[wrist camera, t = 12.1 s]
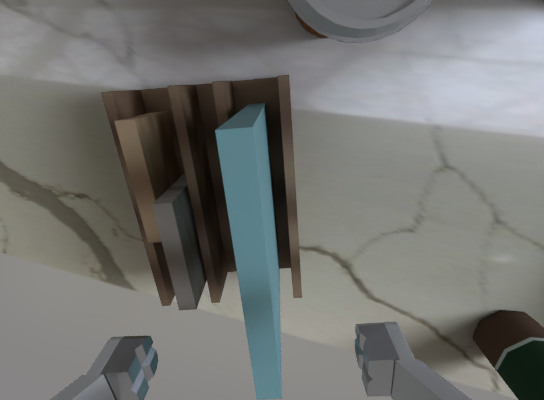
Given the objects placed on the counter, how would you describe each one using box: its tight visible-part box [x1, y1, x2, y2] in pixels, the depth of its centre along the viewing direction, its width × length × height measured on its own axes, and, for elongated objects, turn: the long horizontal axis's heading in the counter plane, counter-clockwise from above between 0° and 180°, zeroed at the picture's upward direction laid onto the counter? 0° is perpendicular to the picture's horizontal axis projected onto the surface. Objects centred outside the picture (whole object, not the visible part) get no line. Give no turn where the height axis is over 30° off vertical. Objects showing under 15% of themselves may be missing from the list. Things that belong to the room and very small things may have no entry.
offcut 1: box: [114, 111, 180, 243], centre depth 26 cm, size 10×2×6 cm, turn 5°
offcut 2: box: [152, 173, 207, 310], centre depth 27 cm, size 10×2×8 cm, turn 5°
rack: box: [101, 75, 302, 306], centre depth 28 cm, size 20×14×6 cm
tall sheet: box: [215, 102, 282, 400], centre depth 22 cm, size 16×2×16 cm, turn 5°
